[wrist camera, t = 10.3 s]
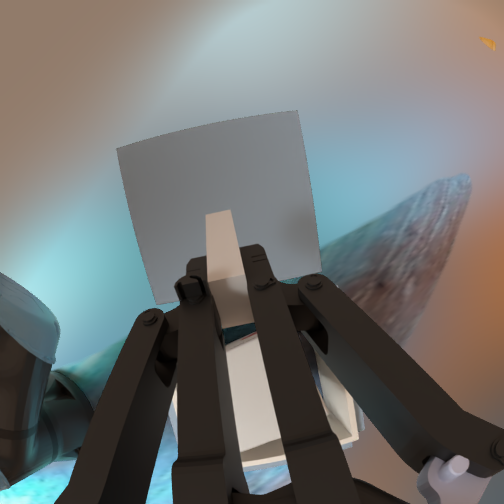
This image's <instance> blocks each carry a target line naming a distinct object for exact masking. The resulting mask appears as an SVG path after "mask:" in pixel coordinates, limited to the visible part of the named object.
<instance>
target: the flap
mask: <svg viewBox="0 0 504 504" xmlns="http://www.w3.org/2000/svg"><path fill="white" fill-rule="evenodd" d="M117 155H118V160H119V165H120V170H121V175H122V180H123V185H124V189H125V194H126V198H127V203H128V207H129V211H130V215H131V219H132V223H133V227H134V231H135V235H136V238H137V242H138V246H139V249H140V253H141V256H142V260H143V263H144V266H145V270H146V273H147V276H148V279H149V283H150V286H151V289H152V292H153V295H154V298H155V301H156V304H157V305H160V304H166V303H171V302H176V301H179V298H178V296H177V293H176V291H175V288H174V285H175V283H176V282H177V280H178V279H180V278H181V277H183V276H185V275H186V265H187V264H188V262H189V261H190V259H192V258H196V257H201V256H206V255H207V251H206V215H207V214H212V213H216V212H221V211H225V210H230V209H231V214H232V219H233V223H234V228H235V232H236V237H237V241H238V245H239V247H244V246H249V245H253V244H259V245H261V246H262V247H264V249H265V252H266V255H267V258H268V260H269V263H270V266H271V269H272V271H273V274H274V276H275V277H276V279H277V280H278V281H282V280H287V279H291V278H296V277H300V276H305V275H309V274H314V273H318V272H322V268H321V258H320V250H319V241H318V234H317V225H316V218H315V210H314V203H313V196H312V190H311V183H310V177H309V171H308V165H307V159H306V153H305V147H304V142H303V137H302V131H301V126H300V121H299V115H298V111H297V110H296V111H287V112H279V113H272V114H264V115H258V116H250V117H244V118H238V119H233V120H227V121H222V122H217V123H212V124H207V125H203V126H198V127H193V128H189V129H184V130H180V131H176V132H172V133H168V134H165V135H161V136H157V137H153V138H150V139H146V140H143V141H139V142H136V143H132V144H129V145H126V146H123V147H120V148H117Z"/></svg>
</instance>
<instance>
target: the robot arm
mask: <svg viewBox="0 0 504 504" xmlns="http://www.w3.org/2000/svg"><path fill="white" fill-rule="evenodd" d="M206 251H207V255H206V256H201V257H196V258H192V259H190V261H189V262H188V264H187V265H186V275H185V276H183V277H181V278H180V279H178V280H177V282H176V283H175V285H174V288H175V291H176V293H177V296H178V298H179V301H180V305H179V306H178V307H176V308H175V309H173V310H171V311H168V312H166V313H163V311H162V310H160V309H157V308H152V309H148V310H146V311H144V312H143V313H141V314H140V315H139V316H138V317H137V319H136V321H135V322H134V325H133V327H132V329H131V331H130V333H129V335H128V337H127V339H126V341H125V343H124V346H123V348H122V350H121V352H120V354H119V356H118V359H117V361H116V363H115V365H114V367H113V370H112V372H111V374H110V376H109V379H108V381H107V383H106V386H105V388H104V390H103V393H102V395H101V398H100V400H99V402H98V405H97V407H96V410H95V412H93V409H92V407H91V405H90V403H89V401H88V400H87V398H86V396H85V395H84V394H83V392H82V391H81V390H80V388H79V387H78V386H77V385H76V384H75V383H74V382H73V381H71V380H70V379H69V378H68V377H66V376H64V375H63V374H61V373H58V372H55V371H51V368H52V364H54V363H55V361H56V358H55V353H56V349H57V345H58V342H59V338H60V326H59V323H58V321H57V319H56V317H55V316H54V314H53V313H52V312H51V311H50V309H49V308H48V307H47V306H46V305H45V304H44V303H42V302H41V301H40V300H39V299H38V298H37V297H35V296H34V295H33V294H32V293H30V292H29V291H28V290H26V289H25V288H24V287H22V286H21V285H19V284H18V283H16V282H15V281H14V280H12V279H11V278H9V277H7V276H6V275H4V274H2V273H1V272H0V491H1V490H5V489H9V488H10V486H12V485H14V484H16V483H17V482H19V481H21V480H23V479H25V478H26V477H28V476H30V475H32V474H33V473H35V472H37V471H38V470H40V469H42V468H44V467H45V466H47V465H48V464H50V463H52V462H57V461H70V460H76V463H75V466H74V469H73V472H72V475H71V478H70V481H69V484H68V486H67V487H66V488H65V490H64V491H63V492H62V493H61V495H60V496H59V497H58V499H57V500H56V501H55V503H54V504H145V503H146V499H147V495H148V490H149V486H150V482H151V478H152V474H153V470H154V466H155V462H156V458H157V454H158V450H159V446H160V443H161V439H162V435H163V431H164V428H165V424H166V420H167V416H168V413H169V409H170V406H171V402H172V398H173V395H174V391H175V388H176V384H177V435H178V458H177V460H176V461H175V462H174V463H173V465H172V473H171V476H172V494H173V504H410V503H407V502H405V501H403V500H401V499H399V498H397V497H395V496H393V495H391V494H389V493H386V492H385V491H383V490H381V489H379V488H377V487H375V486H373V485H371V484H369V483H367V482H365V481H363V480H360V479H356V478H352V476H351V473H350V470H349V467H348V464H347V461H346V458H345V456H344V452H343V449H342V447H341V444H340V441H339V439H338V437H337V435H336V434H335V433H334V432H333V431H332V429H331V427H330V424H329V421H328V418H327V415H326V413H325V410H324V407H323V404H322V401H321V398H320V395H319V393H318V390H317V387H316V384H315V381H314V378H313V376H312V373H311V370H310V367H309V364H308V361H307V359H306V356H305V353H304V350H303V347H302V345H301V342H300V339H299V336H298V334H297V331H301V332H302V334H303V335H304V336H305V338H306V339H307V340H308V342H309V343H310V344H311V345H312V347H313V348H314V349H315V351H316V352H317V353H318V354H319V356H320V357H321V358H322V360H323V361H324V362H325V363H326V365H327V366H328V367H329V368H330V370H331V371H332V372H333V374H334V375H335V376H336V377H337V379H338V380H339V381H340V383H341V384H342V385H343V386H344V388H345V389H346V390H347V391H348V393H349V394H350V395H351V397H352V398H353V399H354V400H355V402H356V403H357V404H358V405H359V407H360V408H361V409H362V410H363V412H364V413H365V414H366V415H367V417H368V418H369V419H370V421H371V422H372V423H373V424H374V426H375V427H376V428H377V429H378V430H379V432H380V433H381V434H382V436H383V437H384V438H385V439H386V440H387V442H388V443H389V444H390V445H391V447H392V448H393V449H394V451H395V452H396V453H397V454H398V455H399V457H400V458H401V459H402V460H403V461H404V462H405V463H406V464H407V465H408V466H410V467H411V468H412V469H413V470H414V471H416V472H417V473H419V476H418V479H417V488H418V490H419V492H420V493H421V494H422V495H423V496H424V497H425V498H426V500H427V502H428V504H478V502H479V500H480V498H481V496H482V494H483V492H484V490H485V489H486V487H487V485H488V483H489V481H490V479H491V477H492V476H493V475H495V474H496V473H498V472H500V471H501V470H503V469H504V429H502V428H500V427H497V426H495V425H493V424H491V423H489V422H487V421H485V420H483V419H480V418H478V417H476V416H474V415H472V414H470V413H468V412H466V411H464V410H462V409H461V408H460V407H459V406H458V404H457V403H456V402H455V401H454V400H453V399H452V398H451V397H450V396H449V395H448V394H447V393H446V392H445V391H444V390H443V389H442V388H441V387H440V386H439V385H438V384H437V383H436V382H435V381H434V380H433V379H432V378H431V377H430V376H429V375H428V374H427V373H426V372H425V371H424V370H423V369H422V368H421V367H420V366H419V365H418V364H417V363H416V362H415V361H414V360H413V359H412V358H411V357H410V356H409V355H408V354H407V353H406V352H405V351H404V350H403V349H402V348H401V347H400V346H399V345H398V344H397V343H396V342H395V341H394V340H393V339H392V338H391V337H390V336H389V335H388V334H387V333H386V332H385V331H384V330H382V329H381V328H380V327H379V326H378V325H377V324H376V323H375V322H374V321H373V320H372V319H371V318H370V317H369V316H368V315H367V314H366V313H365V312H364V311H363V310H362V309H360V308H359V307H358V306H357V305H356V304H355V303H354V302H353V301H352V300H351V299H350V298H349V297H348V296H347V295H346V294H344V293H343V292H342V291H341V290H340V289H339V288H338V287H337V286H336V285H335V284H334V283H333V282H332V281H330V280H329V279H328V278H327V277H325V276H324V275H321V274H309V275H305V276H304V277H302V278H301V279H300V280H299V281H298V284H286V283H282V282H280V281H278V280H277V279H276V277H275V276H274V274H273V271H272V269H271V266H270V263H269V260H268V258H267V255H266V252H265V249H264V247H262V246H261V245H259V244H253V245H249V246H244V247H239V245H238V241H237V237H236V232H235V228H234V223H233V219H232V214H231V209H230V210H225V211H221V212H216V213H212V214H207V215H206ZM253 322H254V323H255V327H256V332H257V336H258V340H259V345H260V349H261V354H262V358H263V363H264V367H265V371H266V376H267V380H268V384H269V389H270V393H271V397H272V402H273V406H274V410H275V415H276V419H277V423H278V427H279V432H280V436H281V440H282V444H283V448H284V452H285V457H286V461H287V465H288V469H289V473H290V477H291V481H292V483H290V484H288V485H286V486H283V487H281V488H279V489H277V490H274V491H272V492H270V493H267V494H264V495H255V494H250V493H249V489H248V485H247V482H246V479H245V476H244V472H243V466H242V460H241V454H240V448H239V442H238V435H237V429H236V422H235V415H234V408H233V401H232V394H231V387H230V379H229V372H228V364H227V356H226V348H225V340H224V335H223V332H222V328H223V329H224V328H229V327H234V326H239V325H244V324H248V323H253ZM221 325H222V328H221Z"/></svg>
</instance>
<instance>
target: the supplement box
mask: <svg viewBox="0 0 504 504" xmlns="http://www.w3.org/2000/svg"><path fill="white" fill-rule="evenodd" d="M225 348H226V356H227V364H228V372H229V379H230V387H231V394H232V401H233V408H234V415H235V422H236V429H237V435H238V442H239V448H240V452H243V451H246V450H249V449H252V448H254V447H257V446H260V445H262V444H265V443H267V442H270V441H272V440H276V439H279V438H281V436H280V432H279V427H278V423H277V419H276V415H275V410H274V406H273V402H272V397H271V393H270V389H269V384H268V380H267V376H266V371H265V367H264V363H263V358H262V354H261V349H260V345H259V340H258V336H257V332H256V331H255V332H253V333H251V334H249V335H246V336H244V337H242V338H240V339H237V340H235V341H233V342H231V343H228V344H226V345H225ZM316 387H317V386H316ZM317 390H318V388H317ZM318 393H319V395H320V398H321V401H322V404H323V407H324V410H325V413H326V415H328V414H329V413H328V410H327V408H326V405H325V403H324V401H323V399H322V396H321V394H320V392H319V390H318Z"/></svg>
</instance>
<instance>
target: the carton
mask: <svg viewBox="0 0 504 504" xmlns="http://www.w3.org/2000/svg"><path fill="white" fill-rule="evenodd" d="M336 286H337V287H338V285H336ZM338 288H339V287H338ZM314 352H315V357H316V362H317V367H318V372H319V377H320V382H321V387H322V393H323V398H324V403H325V405H326V408H327V410H328V413H329V414H328V415H327V418H328V421H329V424H330V427H331V429H332V431H333V432H334V433H335V434H336V435H337V437H338V439H339V441H340V444H341V447H342V449H346V448H349V447H352V441H355V440H358V439H359V438H358V432H360V431H362V430H365V428H364V419H363V413H362V409H361V408H360V407H359V405H358V404H357V403H356V402H355V400H354V399H353V398H352V397H351V395H350V394H349V393H348V391H347V390H346V389H345V388H344V386H343V385H342V384H341V383H340V381H339V380H338V379H337V377H336V376H335V375H334V374H333V372H332V371H331V370H330V368H329V367H328V366H327V365H326V363H325V362H324V361H323V360H322V358H321V357H320V356H319V354H318V353H317V352H316V351H315V349H314ZM169 417H170V420H171V424H172V427H173V431H174V434H175V438H176V441H177V444H178V435H177V384H176V388H175V391H174V395H173V398H172V402H171V406H170V409H169ZM240 454H241V460H242V466H243V472H247V471H254V470H260V469H266V468H272V467H277V466H282V465H287V461H286V457H285V452H284V448H283V444H282V440H281V438H279V439H276V440H272V441H270V442H267V443H265V444H262V445H260V446H257V447H254V448H252V449H249V450H246V451H243V452H240Z"/></svg>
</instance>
